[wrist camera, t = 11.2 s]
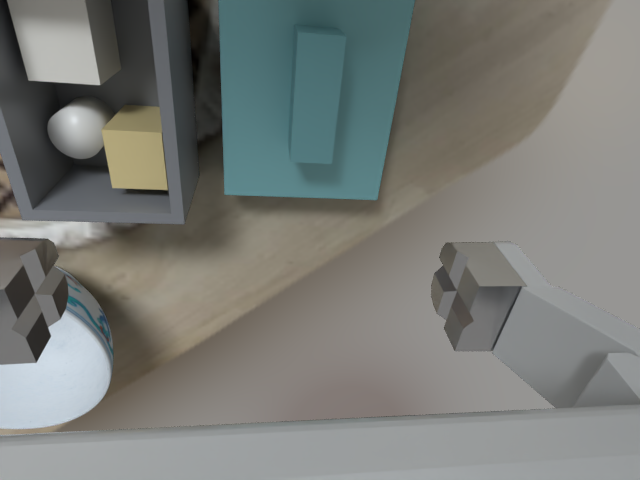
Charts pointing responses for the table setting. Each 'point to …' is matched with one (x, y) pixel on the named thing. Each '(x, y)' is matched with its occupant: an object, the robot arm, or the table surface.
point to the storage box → (98, 109)
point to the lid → (309, 94)
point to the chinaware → (61, 368)
